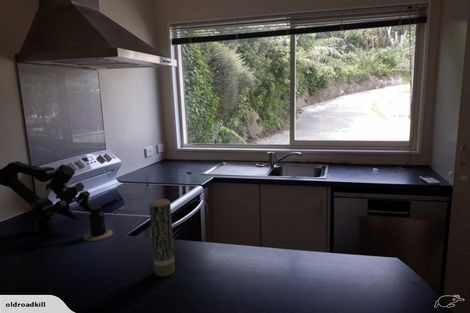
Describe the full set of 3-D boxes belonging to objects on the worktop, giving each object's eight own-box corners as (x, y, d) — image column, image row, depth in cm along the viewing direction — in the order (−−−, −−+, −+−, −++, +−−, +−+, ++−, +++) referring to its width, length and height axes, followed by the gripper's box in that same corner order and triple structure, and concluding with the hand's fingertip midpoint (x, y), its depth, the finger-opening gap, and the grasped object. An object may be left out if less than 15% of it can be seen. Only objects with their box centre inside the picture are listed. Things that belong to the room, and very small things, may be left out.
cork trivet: (77, 239, 147) (77, 237, 147) (96, 229, 158) (96, 227, 158) (100, 242, 143) (100, 240, 143) (118, 231, 154) (118, 230, 154)
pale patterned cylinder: (157, 279, 111) (151, 206, 107) (152, 270, 117) (146, 201, 113) (177, 274, 114) (172, 202, 110) (171, 265, 120) (166, 197, 116)
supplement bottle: (108, 234, 150) (105, 208, 148) (91, 238, 146) (88, 211, 144) (104, 229, 155) (102, 204, 153) (88, 233, 152) (85, 207, 150)
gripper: (53, 183, 141) (78, 210, 140) (85, 173, 159) (107, 198, 157) (40, 200, 144) (64, 227, 143) (72, 189, 162) (94, 213, 161)
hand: (84, 215), depth 151 cm, fingers open, 9 cm apart
